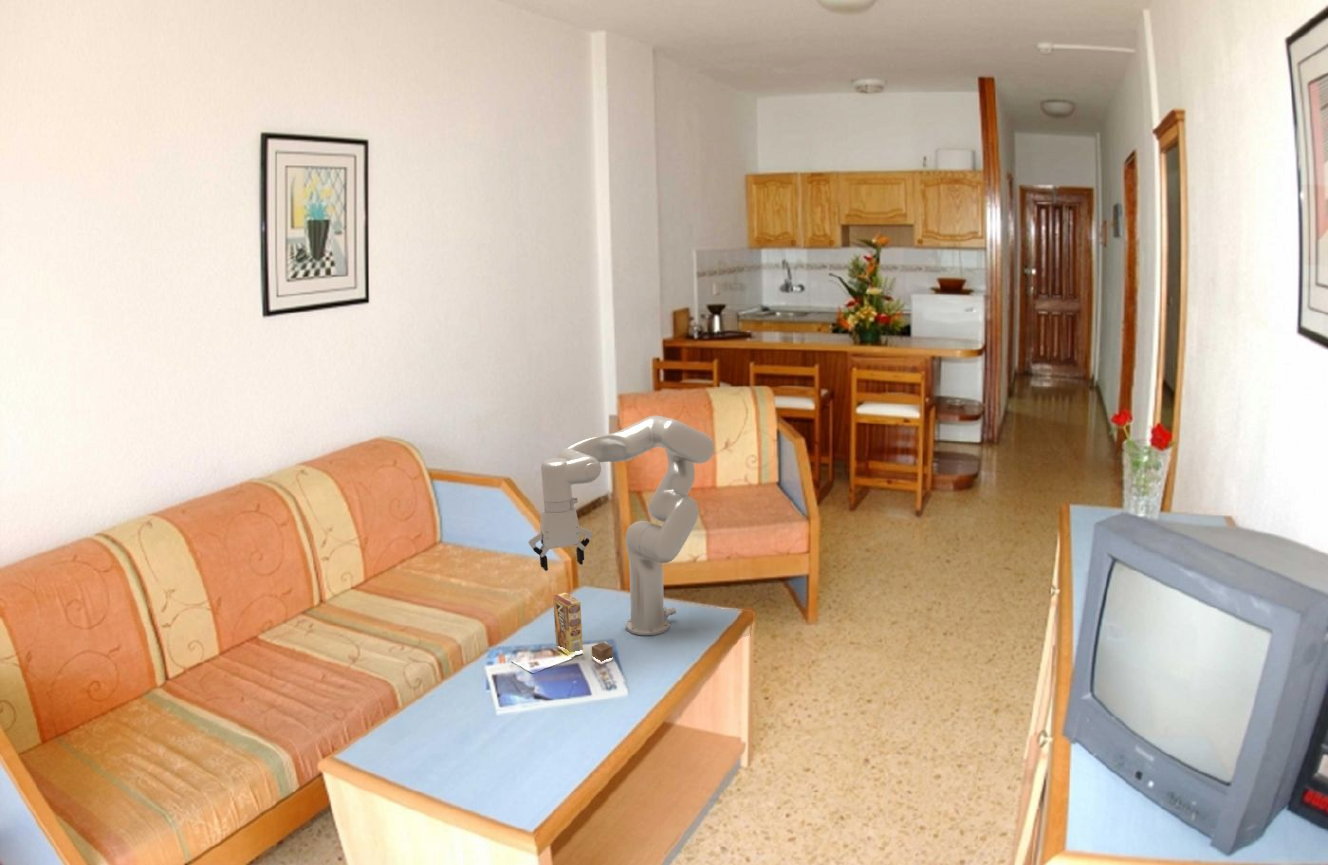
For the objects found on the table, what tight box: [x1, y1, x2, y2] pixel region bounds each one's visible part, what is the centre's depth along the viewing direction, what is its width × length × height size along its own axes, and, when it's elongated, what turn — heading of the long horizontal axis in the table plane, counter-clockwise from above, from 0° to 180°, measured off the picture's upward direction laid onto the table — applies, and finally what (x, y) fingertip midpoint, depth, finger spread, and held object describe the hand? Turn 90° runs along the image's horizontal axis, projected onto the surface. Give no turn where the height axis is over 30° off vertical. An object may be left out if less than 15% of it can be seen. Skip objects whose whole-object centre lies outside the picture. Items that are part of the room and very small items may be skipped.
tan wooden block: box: [591, 641, 614, 662], centre depth 271 cm, size 4×4×4 cm
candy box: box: [552, 592, 584, 652], centre depth 276 cm, size 9×4×15 cm, turn 34°
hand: (562, 566), depth 270 cm, fingers open, 9 cm apart
